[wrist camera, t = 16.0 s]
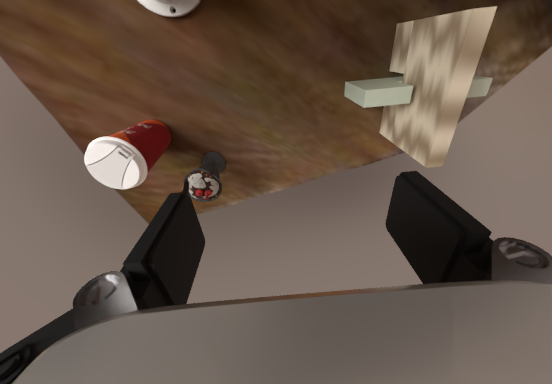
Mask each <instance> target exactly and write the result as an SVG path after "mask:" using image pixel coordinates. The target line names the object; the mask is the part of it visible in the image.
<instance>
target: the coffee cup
mask: <svg viewBox="0 0 552 384" xmlns="http://www.w3.org/2000/svg"><path fill="white" fill-rule="evenodd" d="M170 142H171V133H170V130H169V129H168V127H167V126H166V125H165V124H163V123H162V122H160V121H158V120H146V121H143V122H141V123H138V124H136V125H134V126H131V127H129V128H127V129H124V130H122V131H120V132H117V133H115V134H113V135H110V136H108V137H100V138H97V139H95V140H93V141H92V142H91V143H90V144H89V146H88V148H87V151H86V153H85V159H84V161H85V165H86V167H87V169H88V170H89V172H90V173H91V175H92V176H93V177H94V178H95V179H96V180H98V181H99V182H101V183H102V184H104V185H106V186H108V187H111V188H116V189H128V188H132V187H136V186H138V185H140V184H141V183H142V182H143V181H144V180H145V179H146V176H147V173H148V171H149V170H150V169H151V168H152V166H153V165H154V164H155V163H156V161H157V160H158V159H159V158H160V156H161V155H162V154H163V153H164V151H165V150H166V149H167V147H168V146H169V144H170Z"/></svg>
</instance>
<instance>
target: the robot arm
mask: <svg viewBox="0 0 552 384" xmlns="http://www.w3.org/2000/svg"><path fill="white" fill-rule="evenodd" d="M137 1H138V2H139V3H140V4H141V5H143V6H144V7H145V8H147V9H148V10H150V11H152V12H154V13H156V14H158V15H161V16H166V17H181V16H184V15H187V14H188V13H190V12H191V11H193V10H194V9H195V8H196V7H197V6H198V4H199V3H200V1H201V0H137ZM174 9H176V12H175V13H174V11H173V10H174ZM386 228H387V230H388V232H389V233H390V235H391V236H392V238H393V239H394V241H395V242H396V244H397V245H398V247H399V248H400V250H401V251H402V253H403V254H404V256H405V257H406V259H407V260H408V262H409V263H410V265H411V266H412V268H413V269H414V271H415V272H416V274H417V275H418V277H419V278H420V280H421V281H422V283H423V284H418V285H405V286H392V287H379V288H366V289H353V290H341V291H330V292H317V293H305V294H293V295H281V296H270V297H258V298H247V299H235V300H224V301H212V302H202V303H193V304H186V303H187V300H188V297H189V294H190V290H191V287H192V284H193V281H194V278H195V275H196V271H197V268H198V265H199V262H200V259H201V256H202V253H203V250H204V246H205V239H204V235H203V232H202V229H201V226H200V223H199V221H198V218H197V215H196V212H195V209H194V206H193V203H192V200H191V198H190V196H189V195H186V194H185V193H184V192H180V193H171V194H170V195H169V196H168V197H167V199H166V200H165V202H164V203H163V205H162V206H161V208H160V209H159V211H158V212H157V214H156V215H155V217H154V218H153V220H152V221H151V223H150V224H149V226H148V227H147V229H146V230H145V232H144V233H143V235H142V236H141V238H140V239H139V240H138V242H137V243H136V245H135V246H134V248H133V249H132V251H131V252H130V254H129V255H128V257H127V258H126V260H125V261H124V263H123V265H124V266H123V268H122V269H121V271H120V272H119V271H110V272H106V273H103V274H101V275H98V276H96V277H95V278H93V279H91V280H90V281H88V282H87V283H86V284H85V285H84V286H82V287H81V289H80V290H79V291H78V292H77V293H76V295H75V297H74V299H73V309H71V310H70V311H68V312H66V313H65V314H63V315H62V316H60V317H58V318H57V319H55V320H53V321H52V322H50V323H49V324H47V325H45V326H44V327H42V328H40V329H39V330H37V331H35V332H34V333H32V334H31V335H29V336H28V337H26V338H24V339H22V340H21V341H19V342H18V343H16V344H14V345H13V346H11V347H9V348H8V349H6V350H5V351H3V352H2V353H0V384H552V256H551V255H550V254H549V253H547V252H546V251H544V250H543V249H541V248H540V247H537V246H535V245H533V244H531V243H529V242H526V241H523V240H519V239H515V238H505V237H504V238H498V239H496V240H495V241H493V240H491V239H490V238H489V236H490V234H491V231H490V230H489V229H487V228H486V227H485V226H484V225H482V224H481V223H480V222H479V221H477V220H476V219H475V218H473V216H471V215H470V214H469V213H468V212H466V211H465V210H464V209H462V208H461V207H460V206H459V205H458V204H457V203H455V202H454V201H453V200H452V199H450V198H449V197H448V196H447V195H445V194H444V193H443V192H442V191H441V190H439V189H438V188H437V187H436V186H434V185H433V184H432V183H431V182H429V181H428V180H427V179H426V178H425V177H423V176H422V175H421V174H420V173H418V172H417V171H410V172H402V173H401V174H400V175H399V176H397V177H396V179H395V184H394V188H393V192H392V197H391V202H390V206H389V210H388V215H387V219H386Z"/></svg>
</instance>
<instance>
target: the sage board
mask: <svg viewBox="0 0 552 384" xmlns="http://www.w3.org/2000/svg"><path fill="white" fill-rule="evenodd" d="M492 79H493V78H490V77H482V76H473V79H472V82H471V85H470V88H469V91H468V94H467V97H466V98H470V97H480V96H486V95H487V92H488V90H489V87H490V85H491V82H492ZM402 81H403V76H400V77H390V78H379V79H369V80H359V81H349V82H345V94H344V96H345V97H347V98H348V99H350V100H352V101H353V102H355V103H357V104H358V105H360V106H362V107H363V108H366V107H377V106H387V105H398V104H408V103H410V100H411V95H412V90H413V85H409V84H405V83H402Z"/></svg>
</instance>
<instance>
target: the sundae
mask: <svg viewBox="0 0 552 384" xmlns="http://www.w3.org/2000/svg"><path fill="white" fill-rule="evenodd" d="M202 164H203V165H202V166H201V167H199V168H198V169H195V170H193V171H191V172H189V173H188V174H187V175H186V176H185V178H184V181H183V185H182V192H184V193H185V194H186V195H189V196H190V197H191V198H192V199H194V200H196V201H201V202H207V201H213V200H215V199H217V198H218V197H219V195H220V194H221V191H222V183H221V181H220V180H219V172H221V171H223V169H224V168H225V165H226V163H225V159H224V158H223V156H222V155H220V154H219V153H216V152H208V153H206V154H205V155H204V156H203V158H202Z"/></svg>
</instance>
